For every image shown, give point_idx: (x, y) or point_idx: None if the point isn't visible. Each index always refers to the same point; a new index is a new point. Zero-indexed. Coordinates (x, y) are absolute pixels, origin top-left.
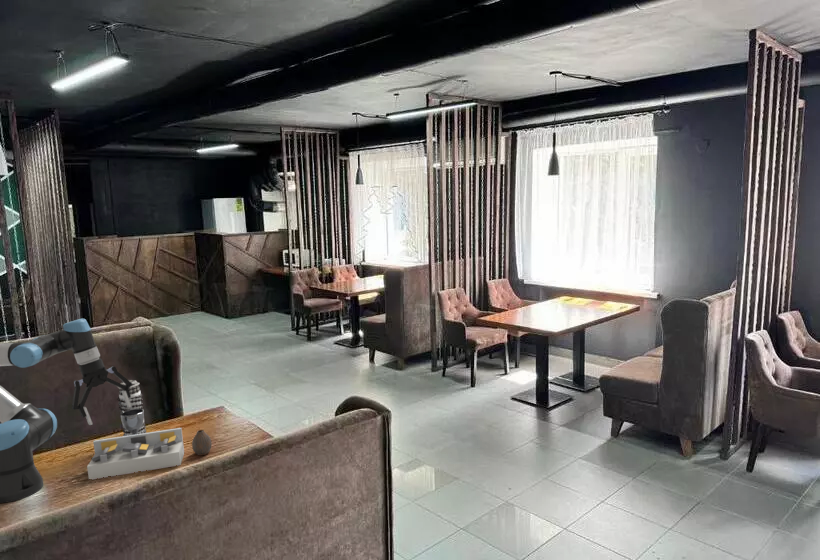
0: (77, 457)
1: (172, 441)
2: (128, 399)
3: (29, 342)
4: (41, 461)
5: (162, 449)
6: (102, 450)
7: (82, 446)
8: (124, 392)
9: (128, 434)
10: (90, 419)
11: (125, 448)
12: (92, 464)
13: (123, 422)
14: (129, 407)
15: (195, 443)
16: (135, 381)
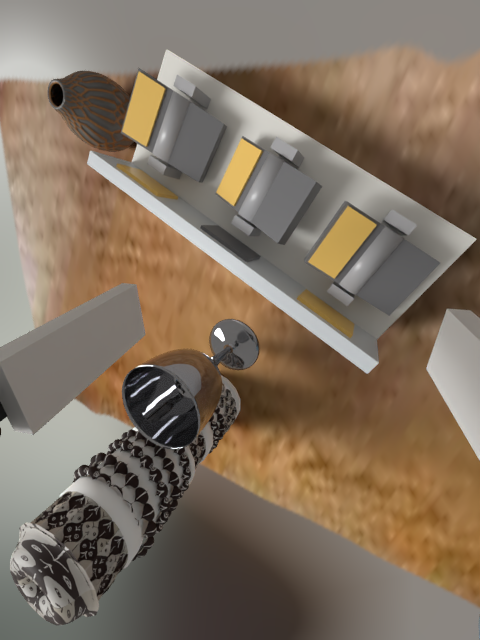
0: (368, 456)
1: (148, 74)
2: (77, 309)
3: None
4: (453, 540)
5: (199, 90)
6: (365, 297)
7: (318, 506)
8: (10, 353)
9: (219, 407)
10: (476, 333)
11: (307, 176)
12: (446, 241)
13: (213, 393)
14: (135, 287)
15: (108, 90)
16: (11, 558)
